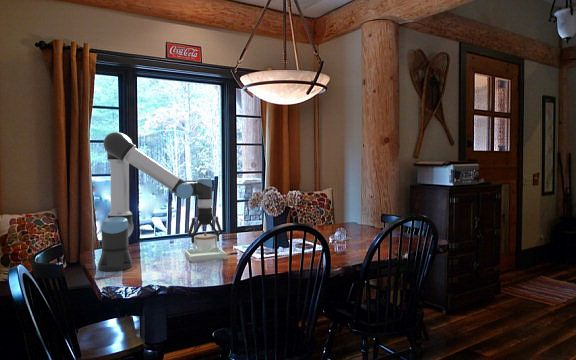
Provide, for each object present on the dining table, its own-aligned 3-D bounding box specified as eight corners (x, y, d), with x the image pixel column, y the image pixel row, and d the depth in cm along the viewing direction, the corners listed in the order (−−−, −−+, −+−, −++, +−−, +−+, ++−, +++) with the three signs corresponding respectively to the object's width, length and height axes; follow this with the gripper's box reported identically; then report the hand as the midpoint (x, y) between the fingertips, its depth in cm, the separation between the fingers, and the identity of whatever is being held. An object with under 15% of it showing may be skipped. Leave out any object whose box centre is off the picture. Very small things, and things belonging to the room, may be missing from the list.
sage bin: (190, 262, 206) (190, 256, 206) (184, 254, 223) (184, 249, 223) (226, 259, 213) (226, 253, 213) (218, 252, 230) (218, 246, 230)
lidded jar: (217, 248, 222) (217, 231, 222) (212, 252, 212) (212, 234, 211) (198, 248, 224) (198, 230, 223) (192, 252, 213) (192, 234, 212)
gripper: (224, 205, 225) (225, 245, 226) (181, 207, 216) (182, 248, 217) (228, 206, 218) (228, 248, 219) (183, 208, 209) (184, 251, 210)
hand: (205, 248), depth 218 cm, fingers closed on lidded jar, 11 cm apart
